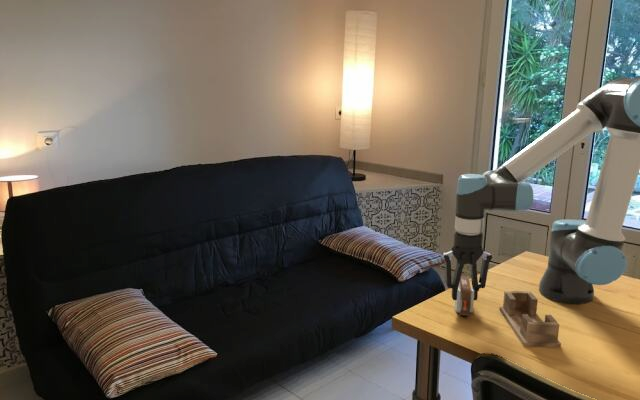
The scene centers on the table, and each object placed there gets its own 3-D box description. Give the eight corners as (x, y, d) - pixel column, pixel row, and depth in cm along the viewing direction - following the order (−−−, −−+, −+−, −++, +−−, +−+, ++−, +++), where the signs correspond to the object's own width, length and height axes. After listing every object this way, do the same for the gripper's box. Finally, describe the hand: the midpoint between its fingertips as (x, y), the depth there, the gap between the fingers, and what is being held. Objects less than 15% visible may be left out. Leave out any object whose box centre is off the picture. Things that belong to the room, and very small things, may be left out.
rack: (531, 310, 147) (533, 291, 146) (560, 347, 128) (563, 325, 126) (499, 310, 148) (501, 290, 146) (523, 346, 128) (526, 324, 127)
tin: (469, 321, 141) (473, 292, 139) (457, 319, 142) (461, 291, 140) (466, 298, 155) (470, 272, 153) (455, 296, 156) (459, 270, 154)
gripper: (494, 227, 145) (488, 304, 150) (436, 226, 145) (432, 304, 151) (502, 235, 137) (496, 316, 143) (441, 235, 138) (437, 316, 144)
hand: (463, 309), depth 147 cm, fingers closed on tin, 3 cm apart
